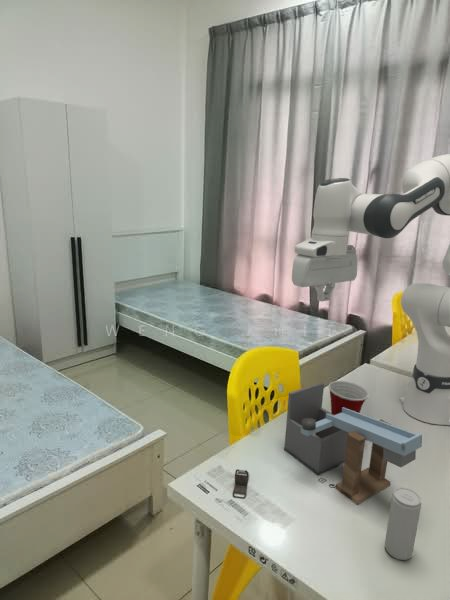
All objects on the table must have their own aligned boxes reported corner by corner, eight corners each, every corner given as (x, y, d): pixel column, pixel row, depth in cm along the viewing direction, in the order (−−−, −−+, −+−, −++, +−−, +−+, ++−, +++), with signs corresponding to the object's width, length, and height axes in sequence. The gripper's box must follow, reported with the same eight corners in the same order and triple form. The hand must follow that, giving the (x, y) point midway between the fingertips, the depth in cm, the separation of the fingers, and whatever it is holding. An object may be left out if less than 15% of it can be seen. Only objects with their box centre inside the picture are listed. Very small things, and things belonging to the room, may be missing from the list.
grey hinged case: (236, 473, 99) (237, 457, 98) (249, 475, 99) (250, 459, 98) (231, 498, 91) (232, 481, 90) (245, 500, 91) (246, 483, 90)
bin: (316, 436, 115) (321, 382, 110) (350, 459, 105) (358, 400, 101) (284, 450, 108) (288, 392, 104) (317, 475, 99) (324, 413, 95)
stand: (367, 470, 101) (375, 416, 98) (389, 485, 96) (398, 428, 93) (335, 488, 95) (342, 430, 91) (357, 504, 90) (365, 444, 86)
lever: (341, 427, 103) (341, 404, 102) (421, 460, 86) (422, 433, 85) (299, 444, 95) (299, 420, 94) (378, 485, 78) (378, 456, 78)
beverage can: (389, 536, 82) (397, 483, 79) (415, 550, 79) (425, 495, 76) (380, 552, 78) (389, 496, 75) (407, 566, 76) (417, 510, 72)
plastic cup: (366, 440, 113) (371, 400, 110) (324, 435, 115) (329, 395, 112) (361, 420, 124) (366, 382, 121) (323, 415, 126) (327, 377, 123)
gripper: (346, 243, 113) (341, 293, 117) (289, 246, 102) (285, 302, 105) (366, 246, 108) (360, 298, 112) (308, 250, 97) (303, 308, 100)
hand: (323, 300), depth 108 cm, fingers closed
